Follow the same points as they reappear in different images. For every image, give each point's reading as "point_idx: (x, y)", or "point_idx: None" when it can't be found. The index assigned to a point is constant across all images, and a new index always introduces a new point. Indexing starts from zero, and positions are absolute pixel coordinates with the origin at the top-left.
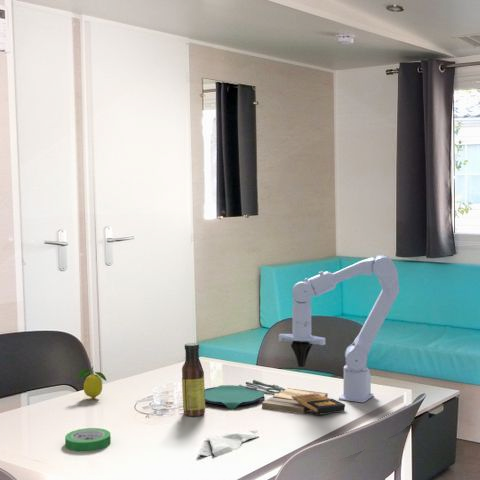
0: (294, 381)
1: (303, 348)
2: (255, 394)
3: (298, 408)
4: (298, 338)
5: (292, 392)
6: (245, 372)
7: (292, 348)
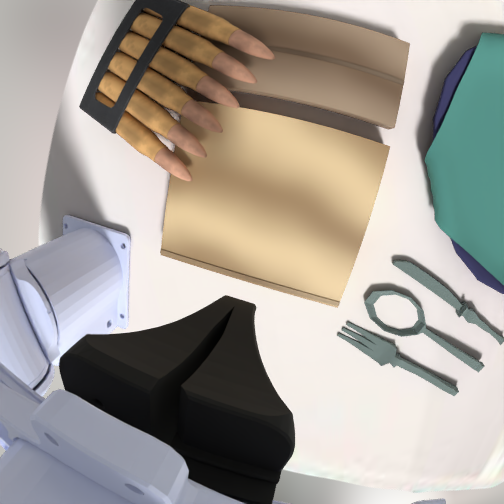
0: (323, 424)
1: (115, 345)
2: (466, 210)
3: (232, 7)
4: (59, 444)
5: (308, 238)
6: (451, 454)
7: (278, 397)
